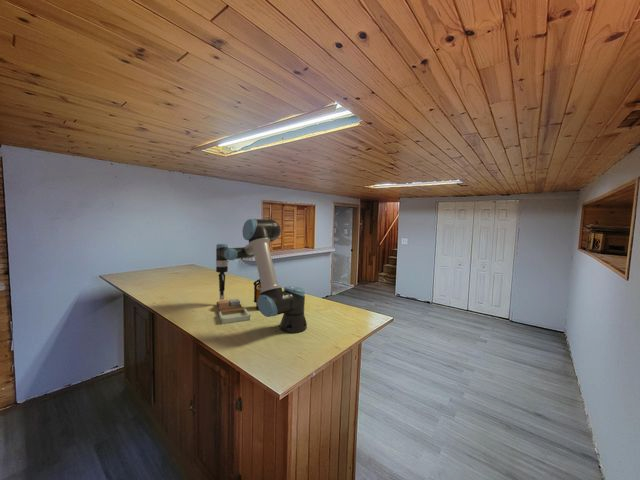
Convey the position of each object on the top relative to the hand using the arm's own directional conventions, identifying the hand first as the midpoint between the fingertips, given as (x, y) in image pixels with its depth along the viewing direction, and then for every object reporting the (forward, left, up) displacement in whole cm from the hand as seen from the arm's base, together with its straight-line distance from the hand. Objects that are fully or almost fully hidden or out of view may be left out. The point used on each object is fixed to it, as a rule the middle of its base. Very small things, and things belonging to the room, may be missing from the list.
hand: (221, 299), depth 186 cm
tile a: (-10, 0, -1) cm, 10 cm away
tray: (-29, -3, -4) cm, 30 cm away
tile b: (-10, -7, -1) cm, 12 cm away
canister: (-17, -23, -4) cm, 29 cm away
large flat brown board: (-12, -3, -4) cm, 13 cm away
